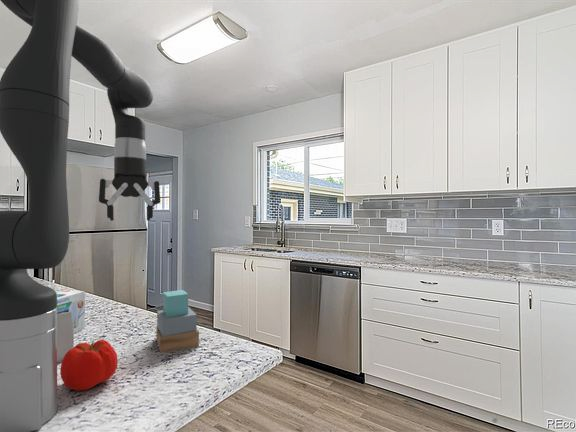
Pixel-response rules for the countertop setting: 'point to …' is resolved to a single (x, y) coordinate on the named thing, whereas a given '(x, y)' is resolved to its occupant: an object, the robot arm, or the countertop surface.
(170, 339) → the base block
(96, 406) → the countertop surface
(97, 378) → the tomato
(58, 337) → the white cardboard box
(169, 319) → the top block
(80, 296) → the light bulb box
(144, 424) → the countertop surface
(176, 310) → the teal cube
